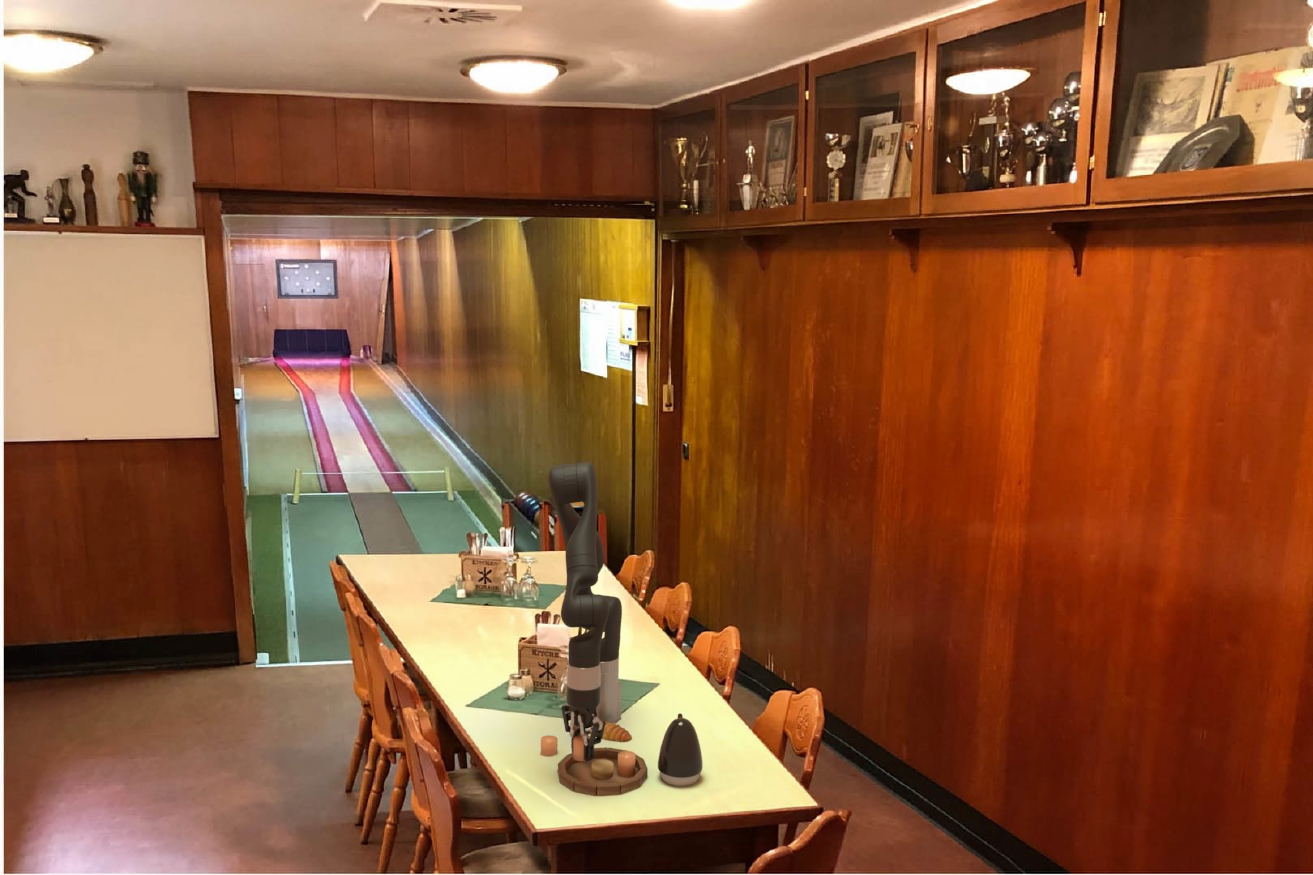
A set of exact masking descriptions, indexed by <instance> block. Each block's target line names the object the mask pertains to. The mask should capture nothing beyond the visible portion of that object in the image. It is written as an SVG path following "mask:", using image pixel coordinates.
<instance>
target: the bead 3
mask: <svg viewBox="0 0 1313 875" xmlns="http://www.w3.org/2000/svg"><path fill="white" fill-rule="evenodd" d="M635 754H636V753H635V752H633V751H631V750H626V751H622V752H620V753H618V775H619V776H621V777H632V776H634V775H635Z"/></svg>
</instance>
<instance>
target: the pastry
mask: <svg viewBox="0 0 1313 875" xmlns="http://www.w3.org/2000/svg"><path fill="white" fill-rule="evenodd" d="M605 723H606V725H605V728H604V732H603V736H602V739H601V740H605V741H609V742H615V743H628V742H630V741H632V739H633V736H632V734H630V731H628V730H627V729H626V728H625V727H623V726H621V725H620V724H616V723H608V722H605Z"/></svg>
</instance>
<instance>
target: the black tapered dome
mask: <svg viewBox="0 0 1313 875" xmlns="http://www.w3.org/2000/svg"><path fill="white" fill-rule="evenodd" d="M683 716H684V715H683V714H682V713H679V712H678V714H677V718H674V719H673V720H672V721H671V722H670V724H669V725H668V727H667V728H666V730H665V732H664V736H663V737H662V738H663V739H662V742H661V745H660V750H659V754H658V759H657V768H658V771H659V775H660V777H661V778H662V781H664V782H665V783H666V784H668V785H671V786H676V787H688V786H691V785H693V784H695V783H696V782H697V781H698V779H699V777H700V775H701V773H702V771H703V765H704V764H703V762H704V761H703V756H702V749H701V744H700V741H699V737H698V733H697V731H696V728H695V726H694V725H693V723H692V721H690V720H689V719H687V718H685V717H683Z"/></svg>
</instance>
